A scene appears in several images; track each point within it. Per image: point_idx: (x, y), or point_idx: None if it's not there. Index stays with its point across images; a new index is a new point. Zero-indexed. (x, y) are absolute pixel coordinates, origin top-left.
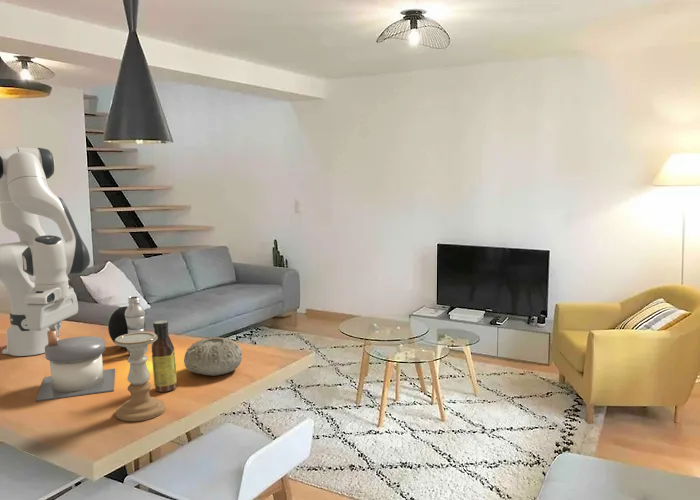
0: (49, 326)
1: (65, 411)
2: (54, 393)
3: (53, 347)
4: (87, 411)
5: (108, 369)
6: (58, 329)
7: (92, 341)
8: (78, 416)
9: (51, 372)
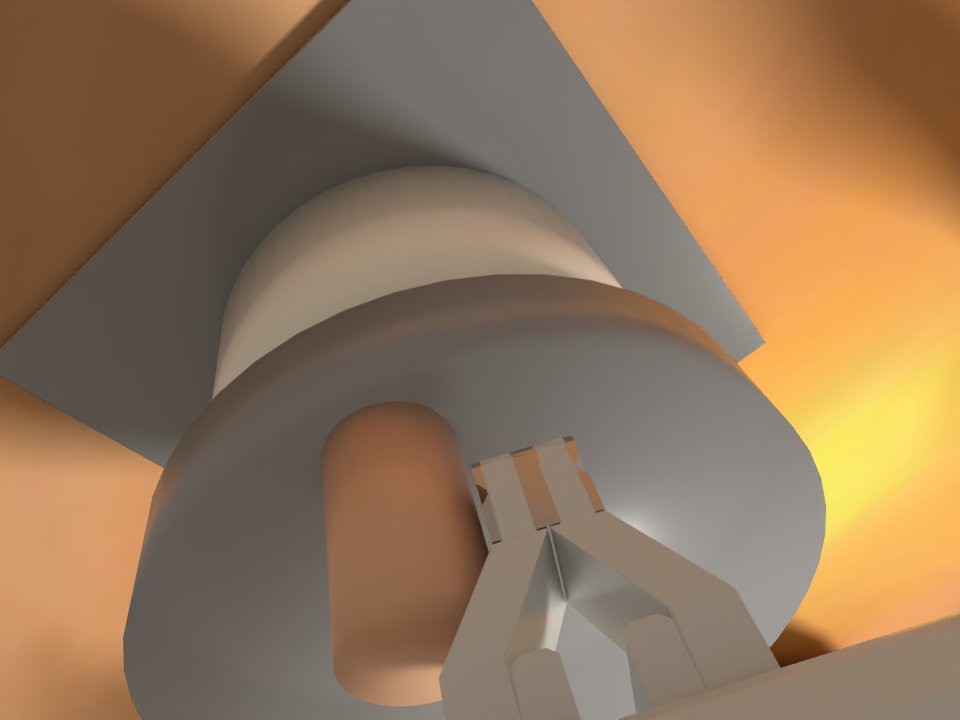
0: (451, 710)
1: (29, 626)
2: (171, 375)
3: (274, 575)
4: (110, 694)
5: (741, 317)
6: (591, 619)
7: (628, 686)
8: (35, 709)
9: (222, 374)
